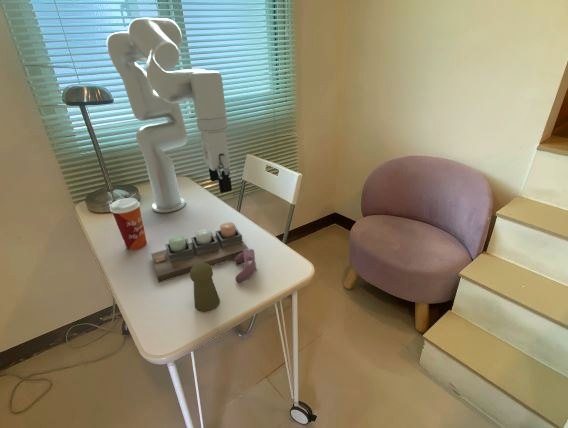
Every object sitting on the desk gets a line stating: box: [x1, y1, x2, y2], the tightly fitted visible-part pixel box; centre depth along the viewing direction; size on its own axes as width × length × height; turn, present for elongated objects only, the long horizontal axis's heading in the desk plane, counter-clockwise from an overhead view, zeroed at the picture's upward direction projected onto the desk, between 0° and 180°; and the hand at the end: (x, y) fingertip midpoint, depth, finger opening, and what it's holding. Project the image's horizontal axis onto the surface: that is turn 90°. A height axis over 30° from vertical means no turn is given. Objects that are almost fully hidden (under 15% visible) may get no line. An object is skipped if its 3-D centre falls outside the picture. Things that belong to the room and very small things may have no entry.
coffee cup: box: [109, 197, 148, 251], centre depth 97 cm, size 8×8×15 cm
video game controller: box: [233, 248, 257, 283], centre depth 86 cm, size 10×5×7 cm, turn 10°
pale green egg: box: [168, 235, 187, 253], centre depth 90 cm, size 4×4×3 cm
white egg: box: [194, 228, 212, 245], centre depth 93 cm, size 4×4×3 cm
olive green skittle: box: [189, 263, 221, 313], centre depth 74 cm, size 6×6×11 cm
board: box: [150, 226, 249, 284], centre depth 93 cm, size 12×26×4 cm, turn 117°
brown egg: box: [219, 222, 236, 238], centre depth 96 cm, size 4×4×3 cm
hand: (220, 185), depth 89 cm, fingers open, 9 cm apart
